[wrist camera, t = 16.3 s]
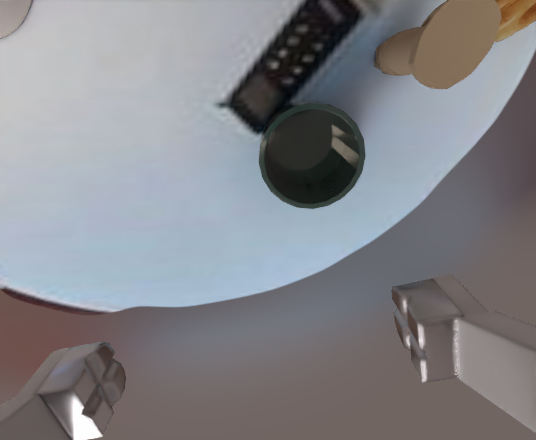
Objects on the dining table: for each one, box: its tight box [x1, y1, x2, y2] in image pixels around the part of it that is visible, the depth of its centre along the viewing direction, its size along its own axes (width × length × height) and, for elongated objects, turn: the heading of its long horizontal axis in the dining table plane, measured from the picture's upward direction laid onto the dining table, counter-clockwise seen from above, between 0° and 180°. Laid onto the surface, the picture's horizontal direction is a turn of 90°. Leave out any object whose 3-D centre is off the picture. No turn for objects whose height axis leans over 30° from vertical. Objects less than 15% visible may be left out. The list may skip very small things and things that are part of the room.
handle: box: [374, 0, 502, 89], centre depth 30 cm, size 5×6×15 cm
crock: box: [259, 100, 365, 209], centre depth 37 cm, size 11×11×8 cm
